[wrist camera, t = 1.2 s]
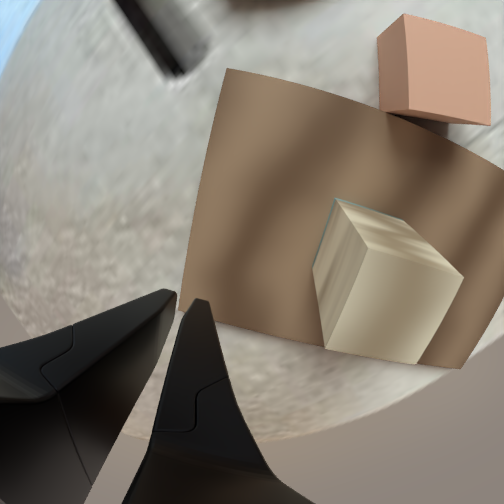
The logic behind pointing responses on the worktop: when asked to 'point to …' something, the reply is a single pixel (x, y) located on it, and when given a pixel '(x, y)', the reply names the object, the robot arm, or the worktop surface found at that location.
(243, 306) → the walnut board
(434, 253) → the maple block
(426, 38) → the terracotta cube
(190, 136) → the worktop surface
